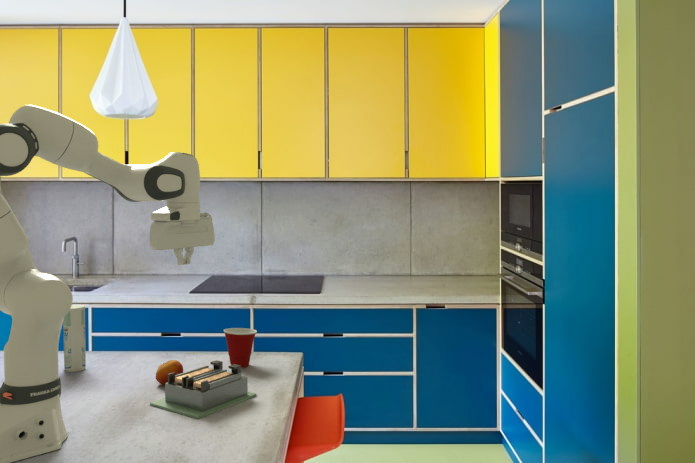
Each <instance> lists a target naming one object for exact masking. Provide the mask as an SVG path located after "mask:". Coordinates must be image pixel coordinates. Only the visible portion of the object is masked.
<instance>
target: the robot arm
mask: <svg viewBox="0 0 695 463" xmlns="http://www.w3.org/2000/svg"><path fill="white" fill-rule="evenodd" d="M34 157H38V158H40V159H42V160H44V161H46V162H48V163H51V164H52V165H53V164H54V165H56V166H59V167H61V168H64V169H67V170H73V171H78V172H81V173H84V174H86V175H88V176H89V177H93V178H94V179H96V180H98V181H100V182H102V183H104V184H107V185H109V186H110V187H112V188H113V190H114V191H116V193H117V194H118V195H119V196H120V197H121V198H123V199H124V200H126V201H128V202H131V203H139V202H163V201H166V202H165V203H166V206H164V207H162V208H159V209H158V210H155V211H152V212H151V214H150V220H151V221H153V222H152V223H151V224H150V228H149V246H150V247H151V249H152V250H155V251H166V250H173V253H174V255H175V257H176V259H177V261H176V262H177V265H178V266H184V265H190V264H191V259H192V256H193V254H194V251H195V250H194V249H195V248H198V247H206V246H213V245H214V243H215V228H214V224H213V217H212V216H211V215H210V214H209V212H201V200H200V195H199V192H200V188H201V175H200V165H199V162H198V159H197V157H196V156H194V155H193V154H191V153H185V152H180V151H173V152H169V153H168V155H166V156H165V157H164V158H162V159H160V160H158V161H156V162H153V163H151V164H150V163H149V164H133V163H130V164H125V163H121V162H119V161H117V160H114V159H113V158H111V157H109V156H107V155H106V154H103V153H102V152H100V151H99V140H98V138H97V136H96V134H95V133H94V132H93V131H92V130H91V129H90V128H89V127H86V126H85V125H83V124H82V123H80V122H78V121H76V120H74V119H72V118H70V117H68V116H65V115H63V114H61V113H59V112H57V111H53V110H50V109H47V108H45V107H41V106H37V105H33V104H28V105H27V104H25V105H23V106H20V107H19V108H17V109H16V110H15V111H14V112H13V113H12V115H11V117H9V121H8V123H0V311H1V312H2V313H4V314H6V315H8V316H11V319H12V320H11V322H12V323H11V328H10V334H9V337H8V341H7V342H6V343H5V345H4V347H3V372H4V373H3V376H4V381H3V382H2V385H1V386H0V463H14V462H18V461H20V460H24V459H28V458H32V457H35V456H39V455H42V454H43V455H44V454H46V453H49V452H53V451H57V450H60V449H61V448H62V444H63V442H64V441H66V439H67V438H68V437H69V436H68V435H69V434H68V431H67V429H66V426H65V423H64V417H63V413H62V406H61V394H62V381H61V380H62V378H61V375H60V374H59V343H60V337H61V332H62V327H63V320H64V317H65V316H66V315H67V313H68V312H69V310H70V308H71V306H72V305H73V301H74V300H73V299H74V298H73V293H72V291H71V288H70V287H69V286H68V284H66V283H65V282H64V281H63V280H62V279H60V278H59V277H58V276H56V275H53V274H51V273H46V272H41V271H40V270H39V269H38V268H37V267H36V265H35V263H34V261H33V258H32V254H31V252H30V247H29V246H30V245H29V244H30V241H29V237H28V236H27V234H26V232H25V230H24V229H23V227H22V225H21V223H20V221H18V218H17V216H16V214H15V213H14V211H13V210H12V207H11V206H10V205H9V203H8V201H7V199H6V198H5V196H4V194H3V190H2V186H1V185H2V184H1V183H2V182H1V181H2V177H9V176H14V175H17V174H19V173H20V172H22V171H23V170H25V169H26V168H27V167H28V166H29V164H30V163H31V162H32V160H33V158H34ZM183 252H185V254H184V256H183Z"/></svg>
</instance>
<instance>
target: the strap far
mask: <svg viewBox="0 0 695 463" xmlns="http://www.w3.org/2000/svg"><path fill="white" fill-rule="evenodd" d="M212 371H215V369H213V368H211V367H209V368H205V369H202V370H198V371H195V372H192V373H189V374H186V375H182V376H179V377H176V378H175V382H179V383H182V377H185V376H189V377H196V376H200V375H203V374H206V373H209V372H212Z"/></svg>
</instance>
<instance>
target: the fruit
mask: <svg viewBox="0 0 695 463" xmlns="http://www.w3.org/2000/svg"><path fill="white" fill-rule="evenodd" d="M173 372H174V373H175V375H178V374H181V373H184V366H183V364H182V363H181V362H180V361H179V360H176V359H175V360H174V359H170V360H168V361H166V362H163V363H161V364H160V365H159V366H158V367H157V369H156V373H155V379H156V382H157V383H159V384H160V385H161V386H164V387H165V383H168V374H170V373H173Z"/></svg>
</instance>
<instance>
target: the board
mask: <svg viewBox="0 0 695 463" xmlns="http://www.w3.org/2000/svg"><path fill="white" fill-rule="evenodd" d="M254 397H257V393H255V392H252V391H251V392H250V391H248V395H245V396H243V397H240V398H237V399H235V400H232V401H230V402H227V403H225V404H222V405H219V406H217V407H214V408H212V409H209V410H207V411H204V412H200V411H197V410H193V409H190V408H186V407H183V406H179V405H175V404H172V403H168V402H165V397H164V398H160V399H158V400H154V401H152V402H149V405H150V406H152V407H155V408H159V409H162V410H166V411H169V412H173V413H176V414H180V415H183V416H186V417H190V418H193V419H196V420H199V419H202V418H203V417H207V416H209V415H212V414H215V413H216V412H219V411H221V410H224V409H227V408H229V407H232V406H234V405H236V404H239V403H243V402H244V401H247V400H250V399H251V398H254Z"/></svg>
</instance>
